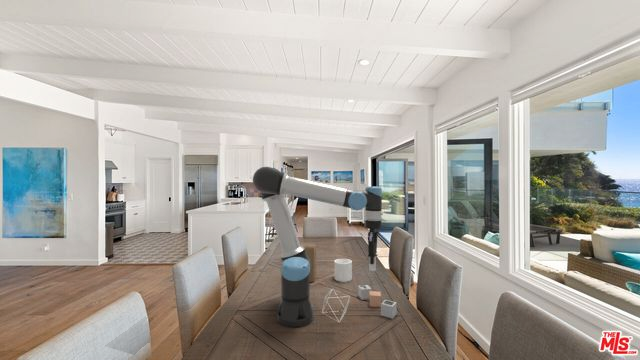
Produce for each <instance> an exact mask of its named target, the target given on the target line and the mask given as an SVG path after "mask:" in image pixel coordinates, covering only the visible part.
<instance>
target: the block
mask: <svg viewBox="0 0 640 360" xmlns="http://www.w3.org/2000/svg"><path fill="white" fill-rule="evenodd" d="M299 243H300V245H301V246H302V247H304V248H305V251H306V254H307V256H308V258H309V260H310V264H311V265H310V266H311V267H310V283H314V282H315V281H316V278H317V243H315V242H299Z"/></svg>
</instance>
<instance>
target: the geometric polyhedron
mask: <svg viewBox="0 0 640 360" xmlns="http://www.w3.org/2000/svg"><path fill="white" fill-rule="evenodd" d="M332 291H333V292H334V293H335V295H336V296H332V297H330V296H331V295H332ZM336 291H337V292H338V293H342V294H343V296H342V298H348V300H347V302H346V304H345V306H344V304H343V303H342V301H341V299H340V296H338V294H337V293H336ZM328 295H329V296H328ZM344 295H345V296H344ZM327 296H328V297H327ZM335 298H337V299H338V300H339V302H340V303H341V305H342V307H343V308H344V309H343V310H342V314H341V316H340V319H339V318H338V317H337V315H336V314H335V312H336V313H337V312H338V310H333V309H332V307H331V305H330V303H329V302H328V301H329V299H335ZM350 299H351V295H350V294H347V293H344V292H342V291H340V290H338V289H335V288H331V290H330V291H329V292H328V293H327V294H326V295H325V297H324V299H323V305H322V309H321V313H322V314H323V315H326V316H327V317H329V318H330V319H333V320H334V321H335V322H338V323H341V321H342V319H343V318H344V316H345V314H346V312H347V309H348V307H349V304H350ZM326 305H328V307H329V308H330V310H331V311H330V313H333V315H334V316H335V318H336V319H335V318H333V317H331V316H329V314H328V315H327V314H325V313H326V311H324V310H325V307H326Z"/></svg>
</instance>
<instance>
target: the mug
mask: <svg viewBox="0 0 640 360" xmlns="http://www.w3.org/2000/svg"><path fill="white" fill-rule="evenodd" d="M352 262H353V261H352V260H351V259H348V258H337V259H334V280H335V281H336V282H340V283H347V282H348V283H349V282H350V281H352V279H353V277H352V276H353V273H352V272H353V270H352V269H353V263H352Z"/></svg>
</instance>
